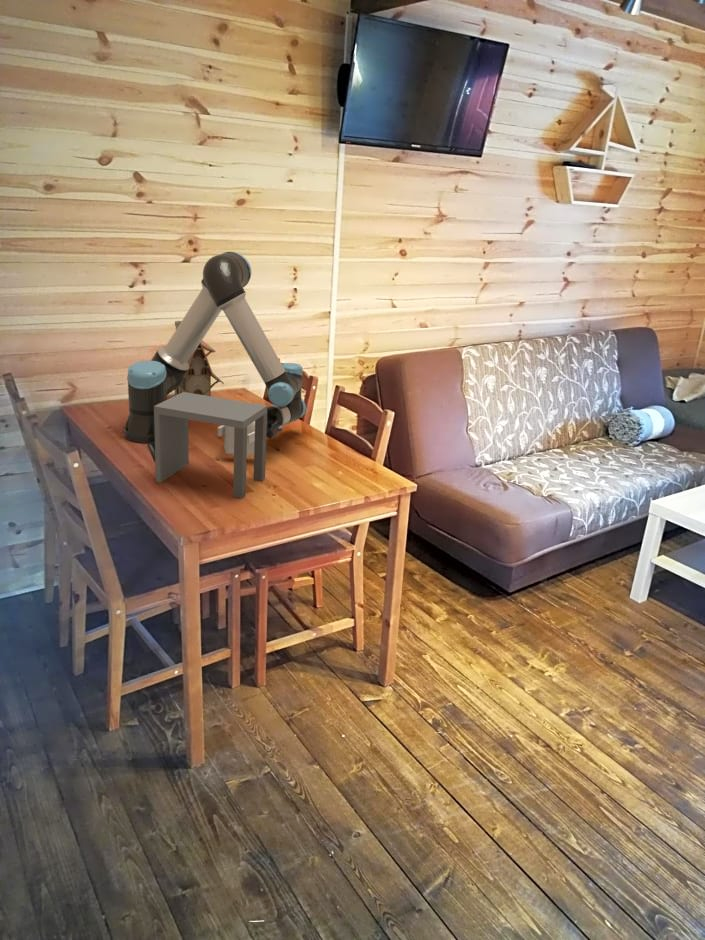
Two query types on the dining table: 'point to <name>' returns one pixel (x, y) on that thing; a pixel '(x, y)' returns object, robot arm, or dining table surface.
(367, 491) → the dining table surface
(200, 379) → the miniature house
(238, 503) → the dining table surface
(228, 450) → the photo printer
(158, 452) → the low shelf
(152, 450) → the phone
